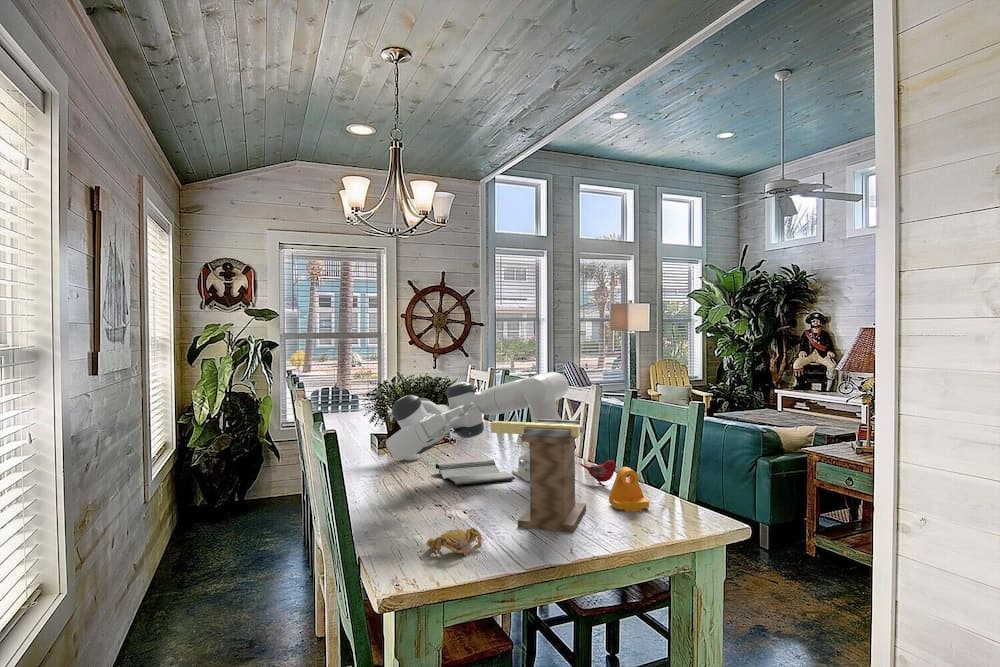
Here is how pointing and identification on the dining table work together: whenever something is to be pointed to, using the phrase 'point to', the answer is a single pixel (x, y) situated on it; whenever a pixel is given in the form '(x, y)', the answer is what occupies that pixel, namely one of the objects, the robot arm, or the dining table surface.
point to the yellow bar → (519, 427)
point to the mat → (472, 472)
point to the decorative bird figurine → (602, 471)
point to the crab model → (455, 541)
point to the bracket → (627, 492)
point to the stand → (552, 479)
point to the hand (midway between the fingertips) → (467, 406)
